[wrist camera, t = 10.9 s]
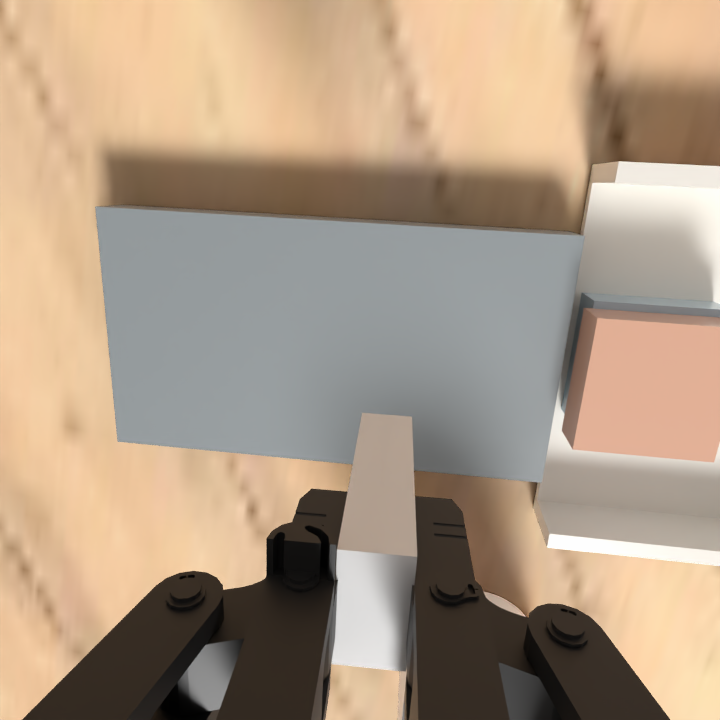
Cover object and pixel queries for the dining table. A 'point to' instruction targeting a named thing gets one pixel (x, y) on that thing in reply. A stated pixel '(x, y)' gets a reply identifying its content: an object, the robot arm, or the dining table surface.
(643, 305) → the blue tile
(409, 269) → the board
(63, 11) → the dining table surface
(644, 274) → the box
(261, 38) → the dining table surface
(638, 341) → the terracotta tile
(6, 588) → the dining table surface
